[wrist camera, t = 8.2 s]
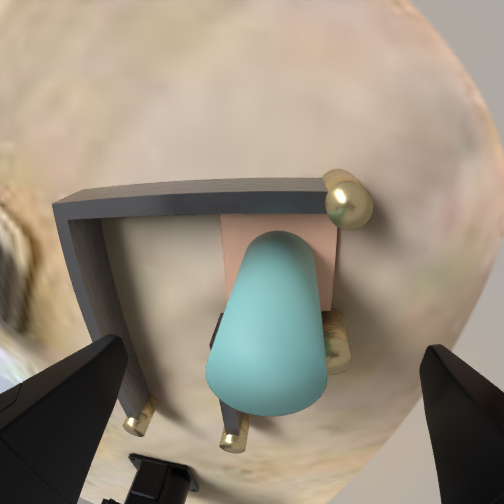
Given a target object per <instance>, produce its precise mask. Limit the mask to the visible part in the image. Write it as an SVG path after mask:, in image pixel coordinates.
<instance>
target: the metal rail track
mask: <svg viewBox="0 0 504 504" xmlns="http://www.w3.org/2000/svg"><path fill="white" fill-rule="evenodd" d="M52 207H53V212H54V216H55V221H56V226H57V230H58V234H59V238H60V242H61V246H62V250H63V254H64V258H65V261H66V265H67V269H68V272H69V275H70V279H71V282H72V285H73V288H74V292H75V295H76V298H77V301H78V304H79V307H80V309H81V312H82V315H83V318H84V321H85V323H86V326H87V329H88V331H89V334H90V336H91V339H92V342H95V341H97V340H99V339H100V338H102V337H104V336H106V335H108V334H114V335H119V336H121V337H122V339H123V342H124V344H125V347H126V350H127V353H128V357H129V361H128V365H127V368H126V371H125V375H124V378H123V381H122V384H121V388H120V391H119V394H118V400H119V402H120V404H121V406H122V407H123V409H124V411H125V413H126V415H127V418H126V420H125V422H124V424H123V427H124V429H125V430H126V431H127V432H129V433H130V434H132V435H135V436H138V437H143V436H144V435H145V432H146V430H147V428H148V425H149V423H150V421H151V419H152V416H153V414H154V412H155V409H156V407H157V405H158V401H157V399H156V398H155V397H154V396H152V395H150V392H149V390H148V387H147V385H146V382H145V380H144V377H143V374H142V371H141V369H140V366H139V363H138V360H137V358H136V355H135V352H134V349H133V346H132V343H131V340H130V337H129V334H128V331H127V327H126V324H125V321H124V318H123V314H122V311H121V307H120V304H119V300H118V297H117V293H116V289H115V286H114V282H113V278H112V274H111V270H110V266H109V262H108V258H107V253H106V249H105V244H104V240H103V235H102V230H101V225H100V220H99V218H110V217H132V216H159V215H196V214H328V217H329V219H330V220H331V222H332V223H333V224H334V225H335V226H337V227H338V228H341V229H344V230H355V229H358V228H361V227H362V226H364V225H365V224H366V223H367V222H368V221H369V219H370V218H371V216H372V213H373V200H372V197H371V195H370V193H369V192H368V191H367V190H366V189H365V188H364V187H363V186H362V185H361V184H360V183H359V182H358V181H357V180H356V179H355V178H354V177H353V176H352V175H351V174H350V173H348V172H347V171H344V170H341V169H335V170H331V171H329V172H327V173H326V174H325V175H324V176H323V177H322V178H242V179H212V180H191V181H174V182H159V183H146V184H134V185H123V186H113V187H103V188H94V189H85V190H81V191H79V192H76V193H74V194H72V195H70V196H67V197H65V198H63V199H61V200H59V201H57V202H55V203H53V204H52ZM223 314H224V313H221V314H220V317H219V319H218V322H217V325H216V328H215V331H214V333H213V336H212V339H211V342H210V349H212V346H213V343H214V341H215V338H216V335H217V332H218V329H219V326H220V323H221V320H222V317H223ZM321 317H322V327H323V337H324V347H325V358H326V370H327V375H336V374H339V373H342V372H344V371H345V370H347V369H348V368H349V366H350V365H351V361H352V359H351V353H350V348H349V342H348V337H347V332H346V327H345V322H344V318H343V315H342V314H341V313H340V312H339V311H337V310H334V309H331V311H321ZM219 401H220V406H221V411H222V416H223V421H224V429H223V433H222V437H221V441H220V448H221V449H223V450H224V451H227V452H230V453H242V452H244V451H245V448H246V442H247V436H248V430H249V424H250V418H251V414H249V413H245V412H242V411H239V410H237V409H235V408H232V407H231V406H229V405H227V404H226V403H224V402H223V401H221V400H220V399H219Z"/></svg>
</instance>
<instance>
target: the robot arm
mask: <svg viewBox="0 0 504 504" xmlns="http://www.w3.org/2000/svg"><path fill="white" fill-rule="evenodd" d="M128 361H129V357H128V353H127V350H126V347H125V344H124V342H123V339H122V337H121V336H119V335H114V334H108V335H106V336H104V337H102V338H100V339H99V340H97V341H95V342H93V343H91V344H90V345H88V346H86V347H84V348H82V349H81V350H79V351H77V352H75V353H74V354H72V355H70V356H68V357H66V358H65V359H63V360H61V361H59V362H57V363H56V364H54V365H52V366H50V367H48V368H47V369H45V370H43V371H41V372H39V373H38V374H36V375H34V376H32V377H30V378H29V379H27V380H25V381H23V382H22V383H19V384H18V385H16V386H14V387H12V388H11V389H9V390H7V391H5V392H3V393H1V394H0V504H77V502H78V499H79V496H80V493H81V490H82V488H83V485H84V482H85V479H86V477H87V474H88V471H89V469H90V466H91V463H92V461H93V458H94V455H95V453H96V450H97V448H98V445H99V443H100V440H101V438H102V435H103V433H104V430H105V428H106V425H107V423H108V420H109V418H110V416H111V413H112V411H113V408H114V406H115V403H116V401H117V398H118V394H119V391H120V388H121V384H122V381H123V378H124V375H125V371H126V368H127V365H128ZM419 373H420V380H421V386H422V393H423V400H424V409H425V415H426V421H427V425H428V430H429V434H430V439H431V444H432V449H433V454H434V459H435V464H436V470H437V476H438V482H439V489H440V496H441V503H442V504H504V392H503V391H501V390H500V389H499V388H498V387H496V386H495V385H494V384H492V383H491V382H490V381H489V380H487V379H486V378H485V377H484V376H482V375H480V374H479V373H478V372H477V371H476V370H474V369H473V368H472V367H471V366H469V365H468V364H467V363H465V362H464V361H463V360H461V359H460V358H459V357H457V356H456V355H455V354H454V353H452V352H451V351H450V350H448V349H447V348H446V347H444V346H443V345H441V344H435V345H429V346H428V347H427V349H426V351H425V354H424V357H423V359H422V362H421V365H420V370H419ZM128 458H129V459H130V461H131V462H132V463H133V465H134V466H135V467H136V469H137V472H136V475H135V477H134V480H133V482H132V485H131V487H130V490H129V492H128V495H127V497H126V500H125V502H124V504H185V501H186V498H187V494H188V491H193V492H198V491H199V487H198V485H197V483H196V481H195V479H194V477H193V475H192V473H191V471H190V469H189V468H188V467H186V466H182V465H177V464H172V463H168V462H163V461H159V460H154V459H150V458H146V457H142V456H138V455H135V454H129V457H128ZM101 504H120V503H118V502H116V501H115V500H113V499H111V498H110V500H107V499H103V501H102V503H101Z"/></svg>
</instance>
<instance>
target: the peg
mask: <svg viewBox="0 0 504 504" xmlns="http://www.w3.org/2000/svg"><path fill="white" fill-rule="evenodd" d="M205 374H206V380H207V383H208V385H209V387H210V388H211V390H212V391H213V393H214V394H215V395H216V396H217V397H218V398H219V399H220V400H221V401H223V402H224V403H226V404H227V405H229V406H231V407H232V408H235V409H237V410H239V411H242V412H245V413H249V414H253V415H258V416H283V415H288V414H292V413H296V412H299V411H301V410H303V409H305V408H307V407H309V406H310V405H312V404H313V403H314V402H316V401H317V400H318V399H319V398H320V396H321V395H322V393H323V392H324V390H325V387H326V384H327V370H326V358H325V347H324V337H323V327H322V317H321V308H320V300H319V291H318V283H317V275H316V268H315V260H314V255H313V252H312V250H311V248H310V247H309V245H308V244H307V243H306V242H305V241H304V240H303V239H302V238H301V237H299V236H298V235H296V234H293V233H291V232H287V231H279V230H278V231H269V232H266V233H263V234H261V235H259V236H258V237H256V238H255V239H254V240H253V241H252V242H251V243H250V244H249V246H248V247H247V249H246V251H245V254H244V257H243V260H242V262H241V265H240V268H239V271H238V274H237V277H236V280H235V283H234V285H233V288H232V291H231V294H230V297H229V300H228V303H227V306H226V309H225V311H224V314H223V317H222V320H221V323H220V326H219V329H218V332H217V335H216V338H215V341H214V343H213V346H212V349H211V352H210V355H209V358H208V361H207V364H206V370H205Z"/></svg>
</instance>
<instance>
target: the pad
mask: <svg viewBox="0 0 504 504" xmlns="http://www.w3.org/2000/svg"><path fill="white" fill-rule="evenodd" d="M220 219H221V231H222V243H223V255H224V266H225V278H226V288H227V299H228V300H229V297H230V294H231V291H232V288H233V285H234V283H235V280H236V277H237V274H238V271H239V268H240V265H241V262H242V260H243V257H244V254H245V251H246V249H247V247H248V246H249V244H250V243H251V242H252V241H253V240H254V239H255V238H256V237H258V236H259V235H261V234H263V233H266V232H269V231H278V230H279V231H287V232H291V233H293V234H296V235H298V236H299V237H301V238H302V239H303V240H304V241H305V242H306V243H307V244H308V245H309V247H310V248H311V250H312V252H313V255H314V260H315V268H316V275H317V283H318V291H319V300H320V308H321V311H331V302H332V292H333V281H334V269H335V256H336V241H337V226H335V225H334V224H333V223H332V222H331V220H330V219H329V217H328V214H220Z"/></svg>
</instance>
